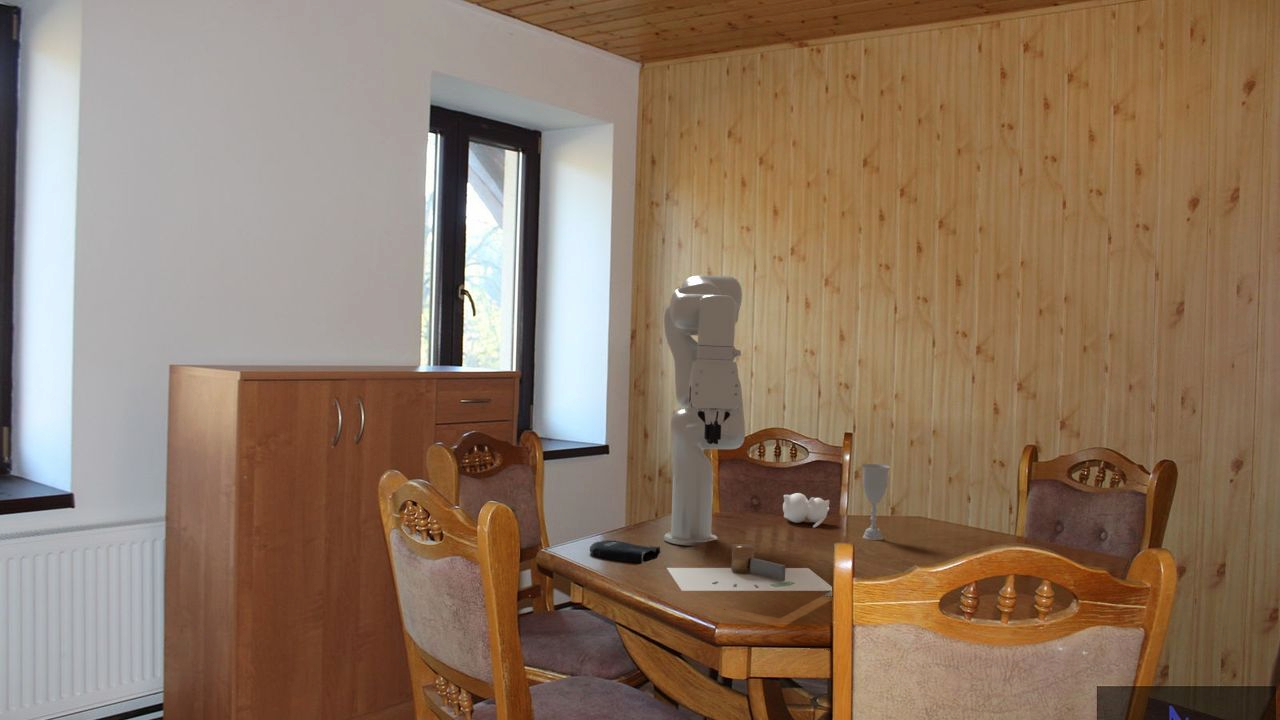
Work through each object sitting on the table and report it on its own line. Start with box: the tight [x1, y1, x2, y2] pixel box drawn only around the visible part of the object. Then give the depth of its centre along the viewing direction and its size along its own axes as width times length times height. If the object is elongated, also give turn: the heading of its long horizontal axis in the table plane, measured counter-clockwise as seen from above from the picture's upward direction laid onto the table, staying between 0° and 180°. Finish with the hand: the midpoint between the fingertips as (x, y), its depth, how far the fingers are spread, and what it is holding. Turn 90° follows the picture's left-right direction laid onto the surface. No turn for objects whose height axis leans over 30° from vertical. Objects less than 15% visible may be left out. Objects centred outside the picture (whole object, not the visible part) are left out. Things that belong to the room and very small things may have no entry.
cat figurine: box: [782, 492, 830, 529], centre depth 266 cm, size 9×11×12 cm
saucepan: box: [730, 543, 786, 581], centre depth 201 cm, size 13×4×5 cm, turn 44°
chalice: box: [861, 463, 891, 541], centre depth 250 cm, size 7×7×18 cm
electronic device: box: [589, 539, 661, 564], centre depth 220 cm, size 9×6×15 cm
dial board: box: [666, 567, 833, 598], centre depth 199 cm, size 18×30×1 cm, turn 98°
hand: (712, 443), depth 208 cm, fingers closed
